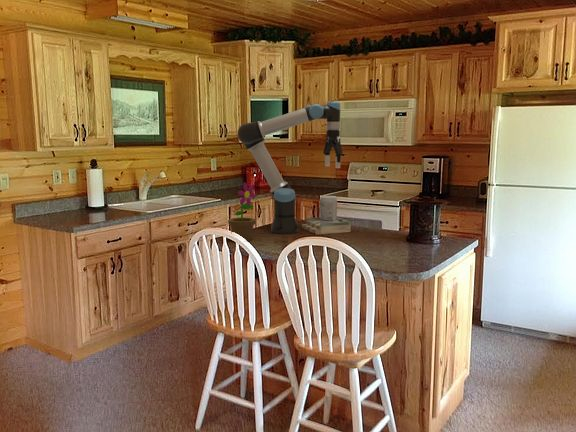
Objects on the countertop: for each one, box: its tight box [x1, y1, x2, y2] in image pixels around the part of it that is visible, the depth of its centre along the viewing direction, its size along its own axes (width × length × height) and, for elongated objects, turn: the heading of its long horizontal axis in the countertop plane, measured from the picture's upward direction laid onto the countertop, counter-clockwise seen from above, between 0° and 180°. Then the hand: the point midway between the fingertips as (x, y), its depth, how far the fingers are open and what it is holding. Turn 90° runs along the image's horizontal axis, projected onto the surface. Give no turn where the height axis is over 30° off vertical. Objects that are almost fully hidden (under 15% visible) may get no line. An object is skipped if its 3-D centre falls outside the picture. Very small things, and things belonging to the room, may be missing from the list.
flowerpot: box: [227, 182, 257, 242], centre depth 280 cm, size 14×14×30 cm
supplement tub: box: [319, 195, 338, 223], centre depth 306 cm, size 10×10×15 cm
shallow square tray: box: [301, 216, 352, 235], centre depth 307 cm, size 20×21×6 cm
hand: (332, 167), depth 310 cm, fingers open, 13 cm apart
